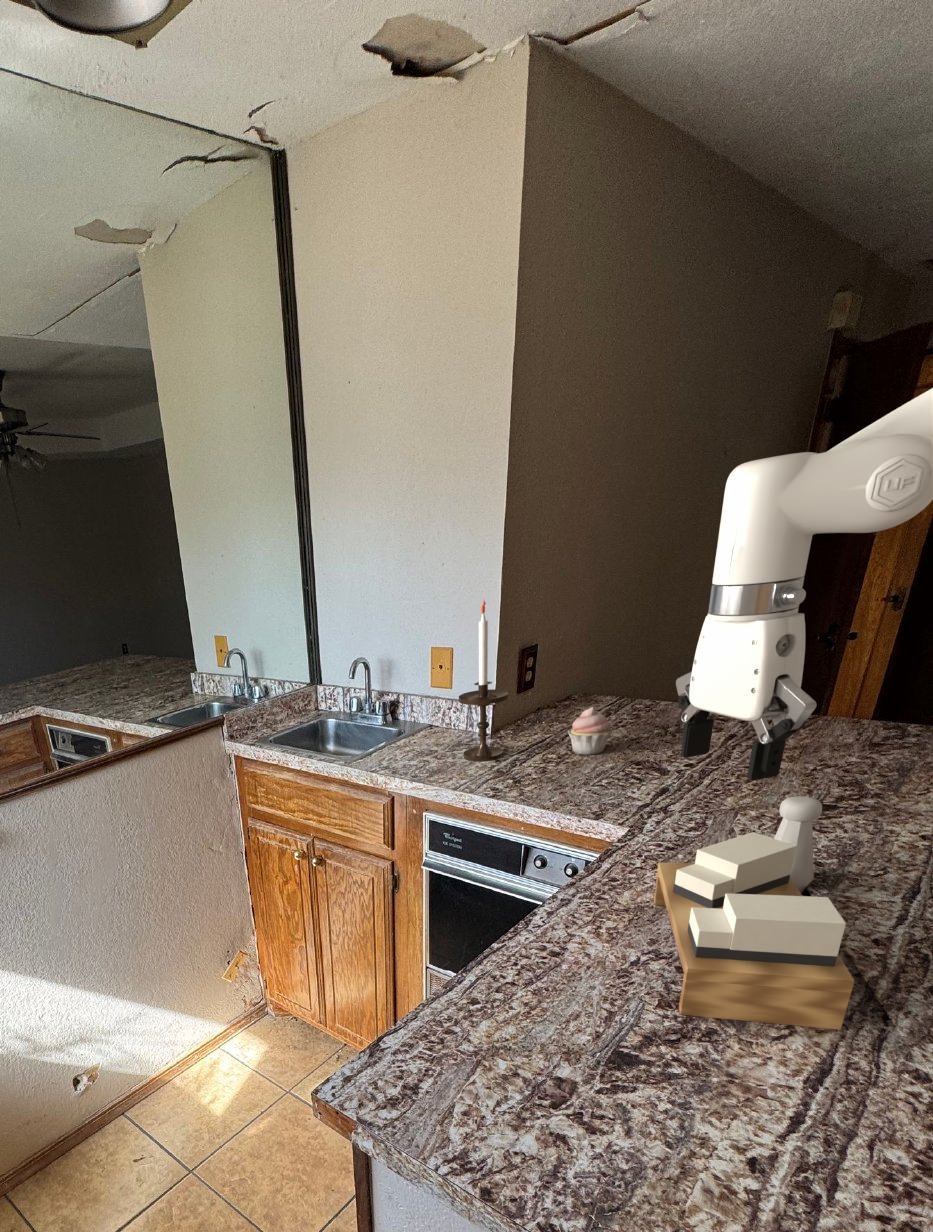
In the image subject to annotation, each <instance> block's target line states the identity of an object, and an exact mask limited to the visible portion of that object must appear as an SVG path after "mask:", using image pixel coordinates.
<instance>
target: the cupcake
mask: <svg viewBox="0 0 933 1232" xmlns="http://www.w3.org/2000/svg"><path fill="white" fill-rule="evenodd" d="M613 732H614V729H612V727H611V722H610V721H609V720H608V719H606V716H605V714H602V713H601V712H599V711H597V710H596V709H595V708H594V706H592V707H590V708H587V709H585V710H584V711H582V713H580V715H579V716H578V717H577V718H576V719H575V720H574V721H573V722H572V727H571V728H570V729H568V730H567V734H568V736H569V738H570V741H571V747H572V751H573V753H575V754H576V755H577V754H578V755H584V756H591V755H596V754H601V753H602V752H604V750H605V748H606V744H607V742H608V740H609V737H610V736H611V735H612V734H613Z"/></svg>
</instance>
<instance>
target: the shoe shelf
mask: <svg viewBox="0 0 933 1232" xmlns="http://www.w3.org/2000/svg"><path fill="white" fill-rule="evenodd" d="M693 864H695V862H693V863H692V862H662V861H661V862H658V863H657V871H656V880H655V886H654V894H653V904H654V906H662V907H663V906H664V907H665V908H666V910H667V914H668V918H669V923H670V925H671V929H672V934H673V937H674V941H675V944H676V945H675V946H676V949H677V952H678V956H679V960H680V965H681V967H682V971H683V978H682V984H681V990H680V996H679V1004H678V1011H679V1015H680V1016H681V1015H682V1016H690V1017H700V1018H701V1017H702V1018H711V1019H712V1018H713V1019H722V1020H723V1019H724V1020H733V1021H744V1022H753V1023H762V1024H763V1023H765V1024H774V1025H784V1026H785V1025H786V1026H796V1027H805V1028H806V1027H807V1028H817V1029H825V1030H827V1029H828V1030H836V1031H837V1030H838V1031H841V1030H842V1027H843V1023H844V1020H845V1016H846V1012H847V1009H848V1006H849V1004H850V1003H849V1002H850V999H851V995H852V992H853V989H854V985H855V982H856V981H855V978H854V977H853V976H852V973H851V972H850V971H849V969H848V967H847V966H846V964H845V963H844V961H843V959H842V957H841V956H840V954H839V953H838V956H837V959H836V962H835V966H819V965H804V964H789V963H775V962H760V961H745V960H730V959H716V958H701V957H695V954H694V951H693V948H692V944H691V941H690V938H689V934H688V924H689V920H690V913H691V908H692V907H695V908H707V907H705V906H702V905H700V904H698V903H696V902H694V901H691V900H689V899H687V898H685V897H682V896H680V895H678V894H676V893H674V892H673V887H674V884H675V879H676V872H677V869H681V868H684V867H687V866H690V865H693ZM756 895H783V896H803V894H802V893H800V891H799V890H798V888H797V887H796V885H795V883H794V882H793V880H792V879H791V877H790V878H789V883H788V884H785V885H782V886H779V887H776V888H773V889H770V890H767V891H765V892H762V893H759V894H756ZM718 909H723V906H721V907H718Z"/></svg>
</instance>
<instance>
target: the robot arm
mask: <svg viewBox="0 0 933 1232" xmlns="http://www.w3.org/2000/svg"><path fill="white" fill-rule="evenodd" d="M722 501H723V502H722V509H721V515H720V523H719V531H718V537H717V545H716V546H717V547H716V552H715V554H716V555H715V559H714V560H715V561H714V566H713V575H712V580H711V581H712V583H711V589H710V597H709V603H708V611H707V615H706V616H705V619H704V621H703V624H702V627H701V631H700V634H699V637H698V640H697V641H698V642H697V645H696V649H695V652H694V653H695V654H694V658H693V663H692V670H691V671H689V672H687V673H685V674H684V675H681V676H680V677H677V678H676V680H675V686H676V691H677V695H678V698H677V703H678V706H679V707H680V709H681V711H682V713H681V717H680V718H681V721H682V722H683V723H684V726H683V733H682V734H683V735H682V742H681V749H680V756H681V757H682V758H685V759H686V758H687V759H688V758H691V757H692V758H693V757H698V756H702V755H706V754H709V752H710V749H711V743H712V737H713V736H712V735H713V729H714V719H713V718H711V716H712V715H713V714H716V715H720V716H724V717H729V718H733V719H737V720H741V721H745V722H746V721H747V722H751V724H752V726H753V728H754V731H755V733H756V735H757V738H758V740H759V741H755V742H753V744H752V746H751V751H750V757H749V761H748V762H749V764H748V769H747V773H746V774H747V775H746V777H747V779H748V780H750V781H752V782H755V781H759V780H765V779H770V778H774V777H775V778H776V777H777V776H779V774H780V771H781V766H782V761H783V757H784V750H785V747H786V746H785V745H786V741H788V740H791V739H793V737H794V734H796V733H797V732H799V731H800V730H801V729H803V728H804V727H805V723H806V721H808V720H809V718H810V716H811V715H812V713H814V711H815V709H816V708H817V702H816V700H815V699H813V698H812V697H811V696H810V695H809V694H808V693H807V692H806V691H804V690H803V689H802V688H801V687H802V683H803V673H804V665H805V655H806V621H805V620H806V619H805V613H803V612H802V613H801V612H799V608H800V604H802V603H803V602H804V601H805V599H806V596H807V591H806V590H805V589H804V588H803V586H804V582H805V576H806V571H807V565H808V560H809V555H810V550H811V544H812V540H813V536H814V535H817V534H818V535H819V534H839V533H840V534H869V533H877V532H881V531H885V530H889V529H891V528H894V527H897V526H900V525H901V524H904V523H905V522H908V521H909V520H911V519H912V518H914V517H916V516H917V515H918V514H920V512H922V511H923V510H925V508H927V507H928V505H930V503H931V502H932V501H933V387H932V388H930V389H928V390H927V391H925V392H923V393H921V394H920V395H918V396H916V397H914V398H912V399H911V400H909V401H907V402H906V403H904V404H902V405H901V406H899V407H897V408H896V409H894V410H892V411H890V412H889V413H887V414H885V415H883V416H882V417H881V418H879V419H877V420H876V421H874V422H871V424H869V425H867V426H866V427H864V428H863V429H861V430H859V431H857V432H855V433H854V434H852V435H851V436H849V437H848V438H846V439H844V440H843V441H841V442H840V443H838V444H836V445H834V446H833V447H832V448H830V449H829V450H827V451H824V452H819V453H818V452H812V451H804V452H795V453H788V454H782V455H776V456H775V455H774V456H770V457H765V458H764V457H763V458H759V459H754V460H750V461H747V462H744V463H741V464H739V465H737V466H736V467H735V468H734V469H733V470H732V471H731V472H730V473H729V475H728V477H727V480H726V483H725V488H724V494H723V500H722ZM768 721H771V722H772V724H773V725H774V726H772V727H771V726H770V724H769V722H768Z"/></svg>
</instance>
